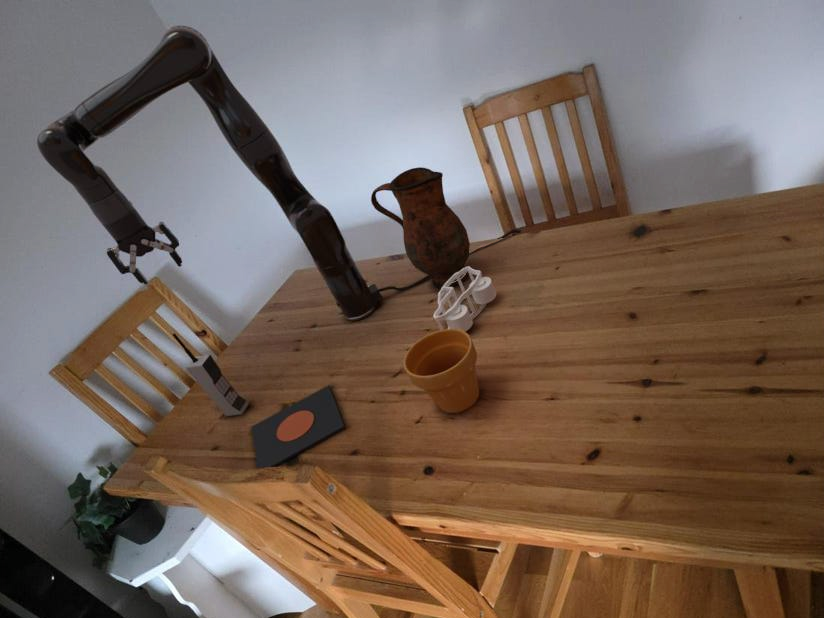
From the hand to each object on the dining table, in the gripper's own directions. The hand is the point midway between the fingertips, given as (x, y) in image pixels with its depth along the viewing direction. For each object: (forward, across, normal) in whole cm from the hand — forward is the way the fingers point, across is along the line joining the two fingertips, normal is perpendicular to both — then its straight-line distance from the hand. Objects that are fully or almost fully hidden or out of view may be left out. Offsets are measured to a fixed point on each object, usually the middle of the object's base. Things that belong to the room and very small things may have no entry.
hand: (163, 274), depth 141 cm
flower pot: (+32, +41, -58) cm, 78 cm away
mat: (+32, +8, -37) cm, 50 cm away
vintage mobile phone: (+32, -3, -17) cm, 37 cm away
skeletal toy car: (+32, +56, -33) cm, 73 cm away
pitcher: (+33, +60, -12) cm, 69 cm away
